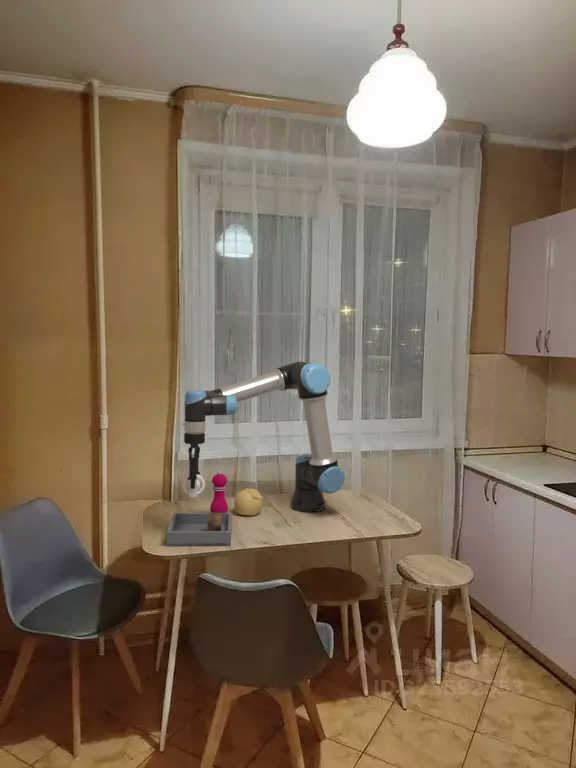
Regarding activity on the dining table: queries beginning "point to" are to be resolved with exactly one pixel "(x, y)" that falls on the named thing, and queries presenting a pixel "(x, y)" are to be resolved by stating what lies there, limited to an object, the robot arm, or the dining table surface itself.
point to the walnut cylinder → (214, 521)
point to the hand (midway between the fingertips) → (193, 494)
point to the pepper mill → (219, 493)
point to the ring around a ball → (197, 485)
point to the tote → (198, 530)
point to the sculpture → (248, 502)
